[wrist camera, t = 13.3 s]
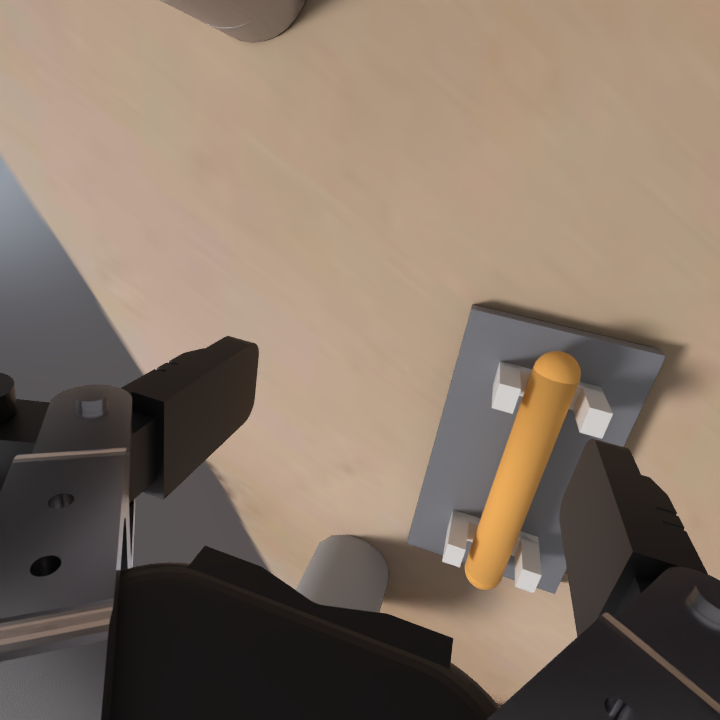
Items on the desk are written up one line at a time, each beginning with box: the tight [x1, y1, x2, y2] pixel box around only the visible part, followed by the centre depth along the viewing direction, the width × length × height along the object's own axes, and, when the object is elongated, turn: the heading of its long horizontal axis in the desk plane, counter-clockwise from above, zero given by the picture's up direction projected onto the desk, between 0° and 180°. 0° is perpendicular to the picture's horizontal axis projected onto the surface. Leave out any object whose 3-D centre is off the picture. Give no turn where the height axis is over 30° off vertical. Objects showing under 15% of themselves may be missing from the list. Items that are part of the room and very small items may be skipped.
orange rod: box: [465, 351, 581, 590], centre depth 38 cm, size 22×3×3 cm, turn 170°
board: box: [407, 304, 666, 594], centre depth 39 cm, size 14×24×6 cm, turn 170°
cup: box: [296, 535, 389, 613], centre depth 47 cm, size 8×8×10 cm
